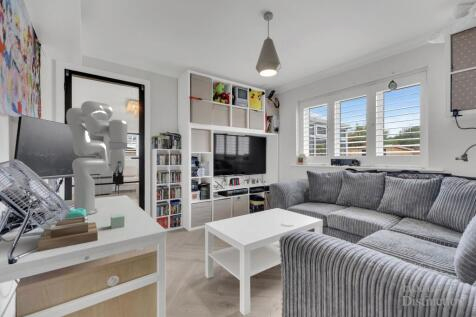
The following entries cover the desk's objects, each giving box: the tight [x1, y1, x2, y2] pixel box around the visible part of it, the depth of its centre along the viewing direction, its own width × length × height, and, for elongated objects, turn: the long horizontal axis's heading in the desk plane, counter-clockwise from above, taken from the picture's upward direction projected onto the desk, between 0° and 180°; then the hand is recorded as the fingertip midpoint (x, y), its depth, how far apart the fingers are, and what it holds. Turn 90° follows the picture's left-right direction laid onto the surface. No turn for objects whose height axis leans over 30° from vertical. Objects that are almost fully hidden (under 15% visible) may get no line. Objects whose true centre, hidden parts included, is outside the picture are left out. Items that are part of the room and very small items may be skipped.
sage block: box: [110, 213, 125, 230], centre depth 99 cm, size 5×5×5 cm
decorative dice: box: [65, 208, 87, 219], centre depth 96 cm, size 8×8×8 cm
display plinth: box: [37, 215, 99, 252], centre depth 84 cm, size 16×17×7 cm
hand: (117, 183), depth 99 cm, fingers open, 9 cm apart
